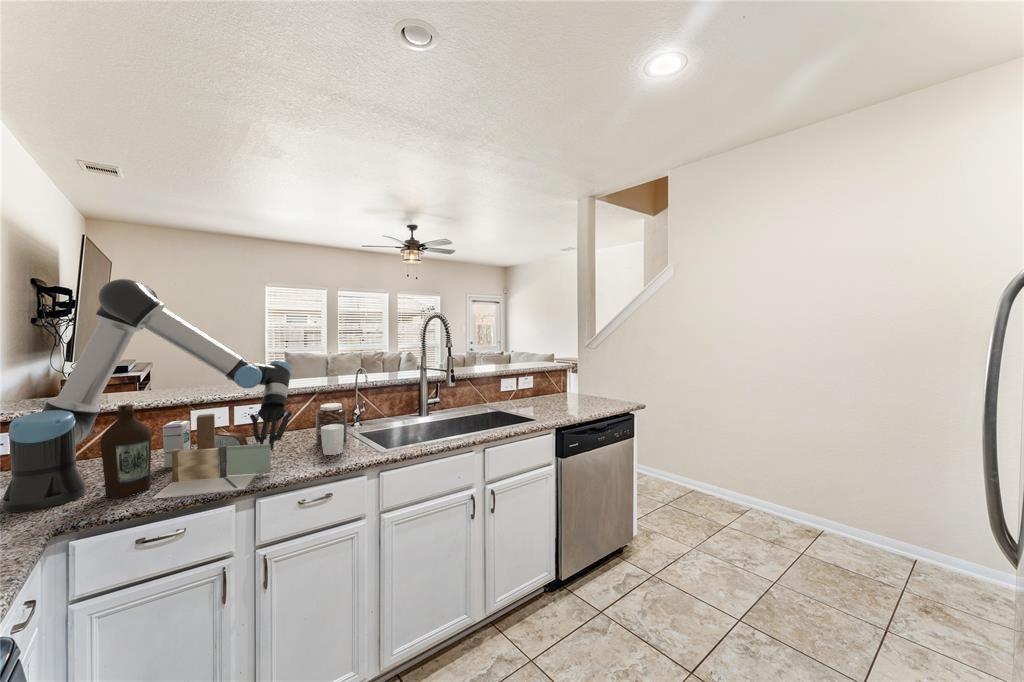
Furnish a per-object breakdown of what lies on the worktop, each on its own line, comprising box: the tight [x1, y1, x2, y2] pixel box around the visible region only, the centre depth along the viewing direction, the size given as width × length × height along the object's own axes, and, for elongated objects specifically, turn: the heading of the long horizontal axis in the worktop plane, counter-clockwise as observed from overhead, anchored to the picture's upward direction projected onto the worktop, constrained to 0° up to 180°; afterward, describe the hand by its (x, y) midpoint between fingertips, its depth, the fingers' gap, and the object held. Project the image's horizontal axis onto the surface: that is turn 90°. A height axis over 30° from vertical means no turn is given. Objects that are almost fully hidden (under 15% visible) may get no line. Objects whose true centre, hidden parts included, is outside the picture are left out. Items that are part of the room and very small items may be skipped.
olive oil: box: [100, 403, 153, 499], centre depth 117 cm, size 11×11×25 cm
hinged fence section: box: [226, 443, 272, 476], centre depth 129 cm, size 12×1×9 cm, turn 103°
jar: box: [315, 402, 348, 446], centre depth 168 cm, size 12×12×15 cm
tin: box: [215, 430, 249, 457], centre depth 149 cm, size 15×3×8 cm, turn 76°
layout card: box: [151, 474, 257, 500], centre depth 122 cm, size 22×14×1 cm, turn 108°
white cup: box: [321, 424, 344, 456], centre depth 152 cm, size 8×8×10 cm
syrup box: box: [162, 420, 192, 468], centre depth 140 cm, size 6×6×14 cm
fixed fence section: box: [171, 445, 227, 482], centre depth 126 cm, size 14×2×10 cm, turn 108°
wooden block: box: [196, 413, 216, 450], centre depth 134 cm, size 9×4×18 cm, turn 123°
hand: (264, 459), depth 132 cm, fingers closed
